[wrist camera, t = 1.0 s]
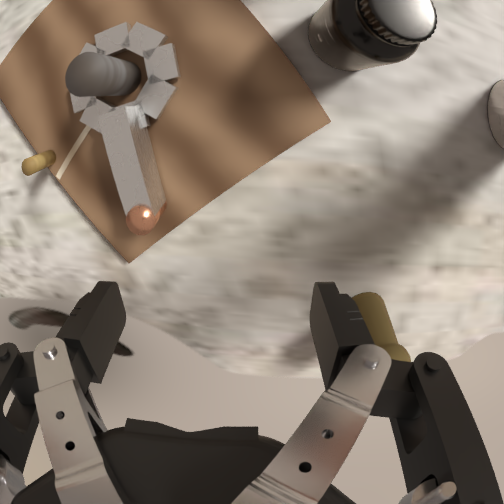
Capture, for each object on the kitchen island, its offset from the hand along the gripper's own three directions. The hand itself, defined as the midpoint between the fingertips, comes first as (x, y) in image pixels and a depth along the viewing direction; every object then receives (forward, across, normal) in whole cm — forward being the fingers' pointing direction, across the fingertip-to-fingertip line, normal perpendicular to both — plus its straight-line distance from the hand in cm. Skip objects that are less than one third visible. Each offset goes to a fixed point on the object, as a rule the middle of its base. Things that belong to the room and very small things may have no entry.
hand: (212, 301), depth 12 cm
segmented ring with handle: (+16, +8, -6) cm, 19 cm away
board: (+18, +9, -10) cm, 23 cm away
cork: (+18, -16, +16) cm, 29 cm away
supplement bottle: (+18, -10, -14) cm, 25 cm away
